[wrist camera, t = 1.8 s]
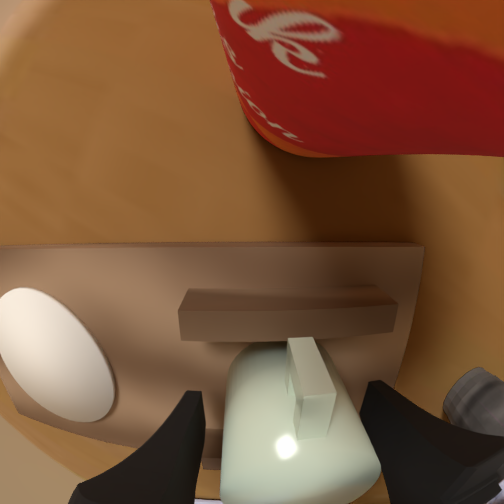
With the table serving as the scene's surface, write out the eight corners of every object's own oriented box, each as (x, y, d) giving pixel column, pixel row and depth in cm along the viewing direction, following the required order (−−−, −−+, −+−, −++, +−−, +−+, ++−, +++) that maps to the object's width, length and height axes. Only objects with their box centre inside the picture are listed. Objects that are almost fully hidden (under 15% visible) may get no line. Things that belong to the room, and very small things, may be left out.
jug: (325, 412, 14) (358, 508, 7) (229, 417, 13) (225, 522, 7) (345, 296, 12) (421, 389, 6) (223, 299, 12) (206, 413, 5)
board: (368, 432, 16) (383, 465, 12) (24, 406, 15) (6, 429, 12) (414, 242, 13) (453, 259, 9) (-28, 246, 12) (-60, 258, 9)
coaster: (132, 429, 14) (130, 434, 13) (25, 400, 13) (22, 404, 13) (94, 291, 12) (90, 294, 11) (-17, 282, 11) (-21, 284, 11)
